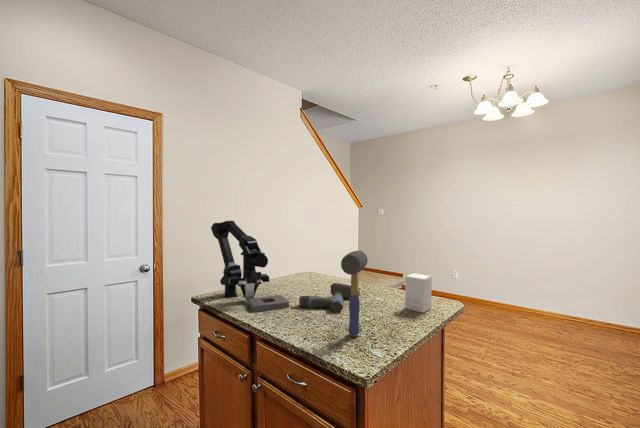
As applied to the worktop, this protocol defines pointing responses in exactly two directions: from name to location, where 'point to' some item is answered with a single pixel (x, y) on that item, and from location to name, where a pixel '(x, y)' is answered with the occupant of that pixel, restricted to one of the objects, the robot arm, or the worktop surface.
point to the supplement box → (418, 292)
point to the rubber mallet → (354, 286)
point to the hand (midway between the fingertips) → (249, 297)
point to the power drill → (322, 302)
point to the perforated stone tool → (342, 289)
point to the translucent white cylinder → (248, 291)
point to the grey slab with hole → (268, 303)
